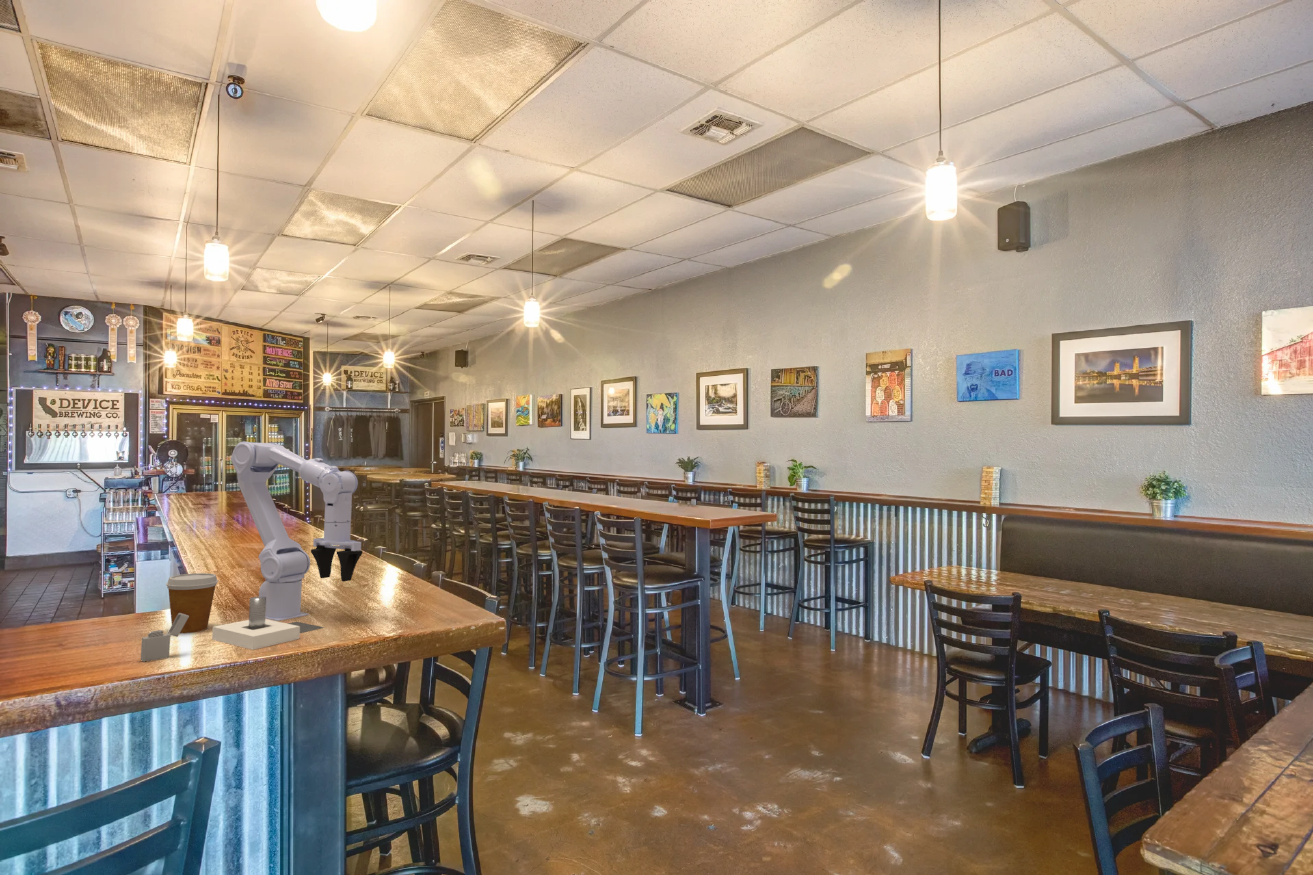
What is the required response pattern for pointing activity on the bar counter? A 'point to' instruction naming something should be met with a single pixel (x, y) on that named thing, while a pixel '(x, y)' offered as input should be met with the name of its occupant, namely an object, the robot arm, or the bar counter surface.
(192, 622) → the disposable coffee cup
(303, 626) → the mat
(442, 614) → the bar counter surface
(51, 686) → the bar counter surface
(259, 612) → the peg
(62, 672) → the bar counter surface
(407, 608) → the bar counter surface
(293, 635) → the block
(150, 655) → the lighter
